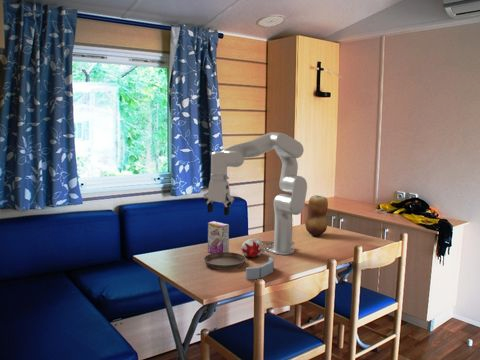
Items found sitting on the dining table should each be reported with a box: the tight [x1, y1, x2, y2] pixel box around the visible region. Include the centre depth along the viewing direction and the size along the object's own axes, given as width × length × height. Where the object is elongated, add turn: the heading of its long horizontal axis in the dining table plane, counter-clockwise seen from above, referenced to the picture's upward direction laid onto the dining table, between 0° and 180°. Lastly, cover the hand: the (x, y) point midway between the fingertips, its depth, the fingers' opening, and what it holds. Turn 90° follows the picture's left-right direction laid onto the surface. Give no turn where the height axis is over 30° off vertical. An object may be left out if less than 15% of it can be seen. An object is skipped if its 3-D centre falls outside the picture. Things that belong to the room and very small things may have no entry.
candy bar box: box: [207, 220, 230, 254], centre depth 229 cm, size 11×5×16 cm, turn 51°
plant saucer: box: [203, 252, 247, 270], centre depth 214 cm, size 21×21×3 cm
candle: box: [240, 238, 263, 258], centre depth 225 cm, size 9×11×15 cm
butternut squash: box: [304, 194, 329, 237], centre depth 269 cm, size 14×13×25 cm
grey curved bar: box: [245, 256, 275, 281], centre depth 201 cm, size 21×5×5 cm, turn 144°
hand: (218, 213), depth 206 cm, fingers open, 9 cm apart
